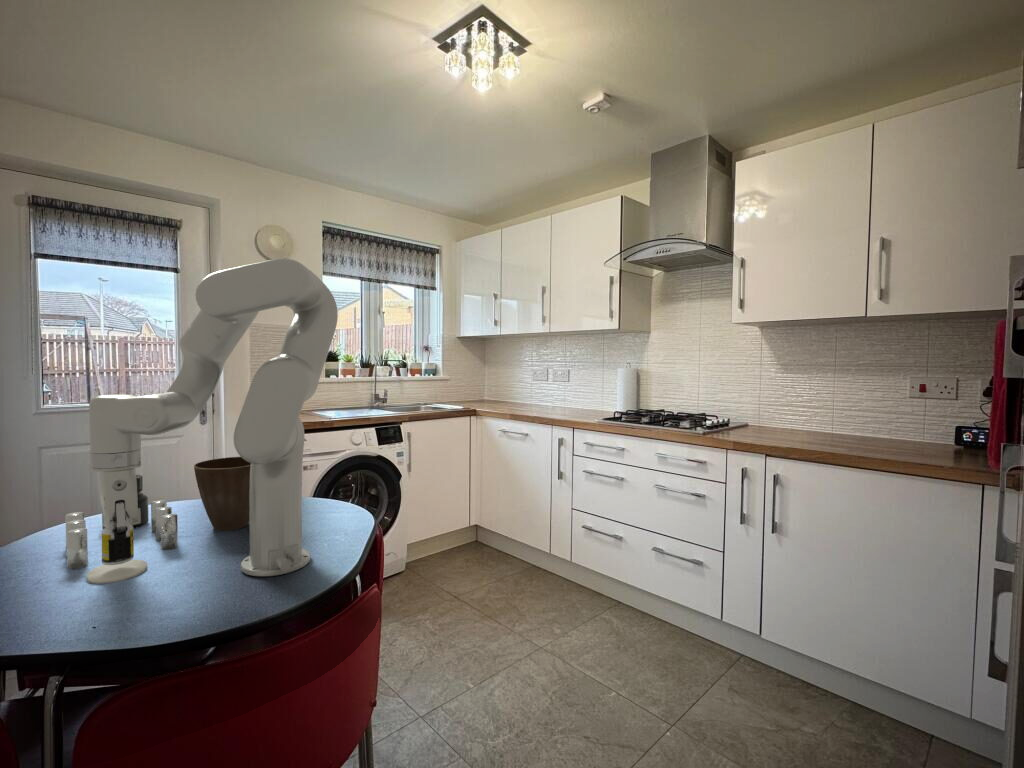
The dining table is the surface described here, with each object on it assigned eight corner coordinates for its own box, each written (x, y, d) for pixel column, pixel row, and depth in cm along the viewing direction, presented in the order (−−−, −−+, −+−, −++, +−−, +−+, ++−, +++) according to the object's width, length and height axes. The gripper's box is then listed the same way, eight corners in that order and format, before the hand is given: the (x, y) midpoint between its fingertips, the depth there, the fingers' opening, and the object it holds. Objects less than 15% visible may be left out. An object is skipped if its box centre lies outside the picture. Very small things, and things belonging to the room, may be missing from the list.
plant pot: (188, 540, 112) (188, 470, 112) (200, 520, 126) (199, 458, 125) (262, 532, 118) (262, 466, 118) (265, 514, 132) (265, 454, 131)
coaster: (150, 574, 94) (150, 570, 94) (88, 588, 88) (88, 583, 88) (143, 559, 101) (143, 556, 101) (85, 572, 95) (85, 567, 95)
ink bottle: (91, 533, 116) (90, 482, 115) (116, 521, 125) (115, 473, 124) (136, 532, 117) (135, 481, 117) (158, 520, 126) (157, 473, 125)
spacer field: (178, 548, 108) (178, 516, 107) (67, 570, 95) (66, 534, 95) (165, 528, 120) (165, 499, 120) (65, 545, 108) (65, 513, 108)
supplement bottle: (116, 567, 92) (115, 522, 91) (95, 564, 93) (94, 520, 92) (140, 557, 96) (139, 514, 96) (120, 555, 97) (119, 512, 97)
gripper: (147, 464, 90) (149, 563, 91) (135, 451, 103) (137, 538, 103) (93, 470, 85) (95, 574, 86) (88, 455, 97) (90, 547, 98)
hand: (118, 553), depth 95 cm, fingers closed on supplement bottle, 4 cm apart
